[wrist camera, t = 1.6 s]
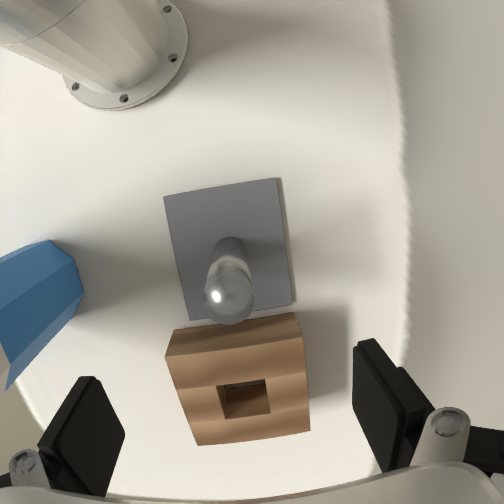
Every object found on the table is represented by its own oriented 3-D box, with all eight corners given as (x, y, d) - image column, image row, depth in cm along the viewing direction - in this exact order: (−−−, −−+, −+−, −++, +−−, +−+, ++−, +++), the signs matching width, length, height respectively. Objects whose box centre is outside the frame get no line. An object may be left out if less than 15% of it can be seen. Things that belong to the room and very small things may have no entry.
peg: (210, 239, 29) (197, 281, 18) (244, 234, 29) (250, 273, 18) (216, 271, 29) (207, 328, 19) (249, 266, 30) (257, 320, 19)
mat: (164, 196, 28) (163, 197, 28) (275, 177, 28) (276, 177, 28) (190, 318, 31) (190, 320, 31) (292, 303, 31) (292, 304, 31)
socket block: (173, 330, 31) (164, 356, 26) (292, 312, 31) (302, 336, 27) (200, 415, 34) (197, 445, 29) (302, 401, 34) (310, 430, 30)
